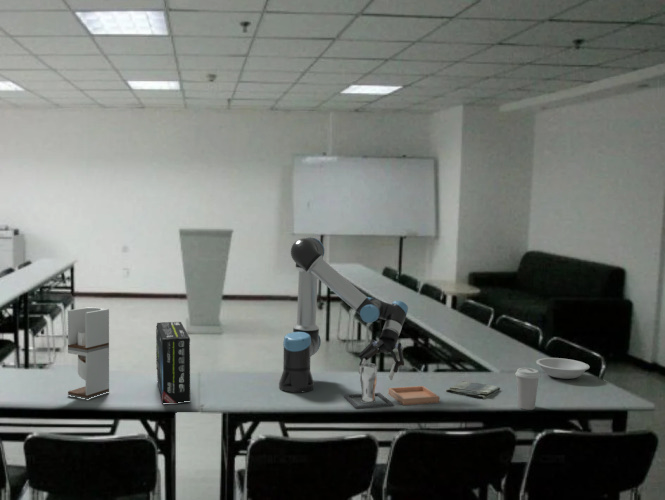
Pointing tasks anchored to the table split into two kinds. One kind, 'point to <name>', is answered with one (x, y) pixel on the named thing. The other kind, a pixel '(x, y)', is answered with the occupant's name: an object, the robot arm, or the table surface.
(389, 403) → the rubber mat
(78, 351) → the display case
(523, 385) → the coffee cup
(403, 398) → the terracotta tray
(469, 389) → the dish towel
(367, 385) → the beer glass
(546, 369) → the soup bowl
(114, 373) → the table surface
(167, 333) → the router box
